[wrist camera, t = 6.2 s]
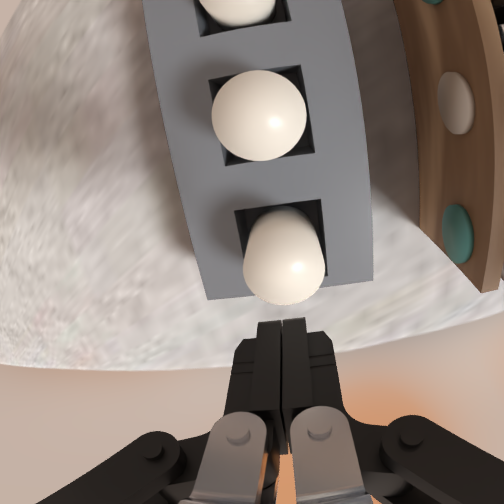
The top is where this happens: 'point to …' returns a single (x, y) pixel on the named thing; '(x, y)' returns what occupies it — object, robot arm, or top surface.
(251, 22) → the button
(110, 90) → the top surface
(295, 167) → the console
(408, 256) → the top surface
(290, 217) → the button
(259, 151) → the button
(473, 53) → the placard
